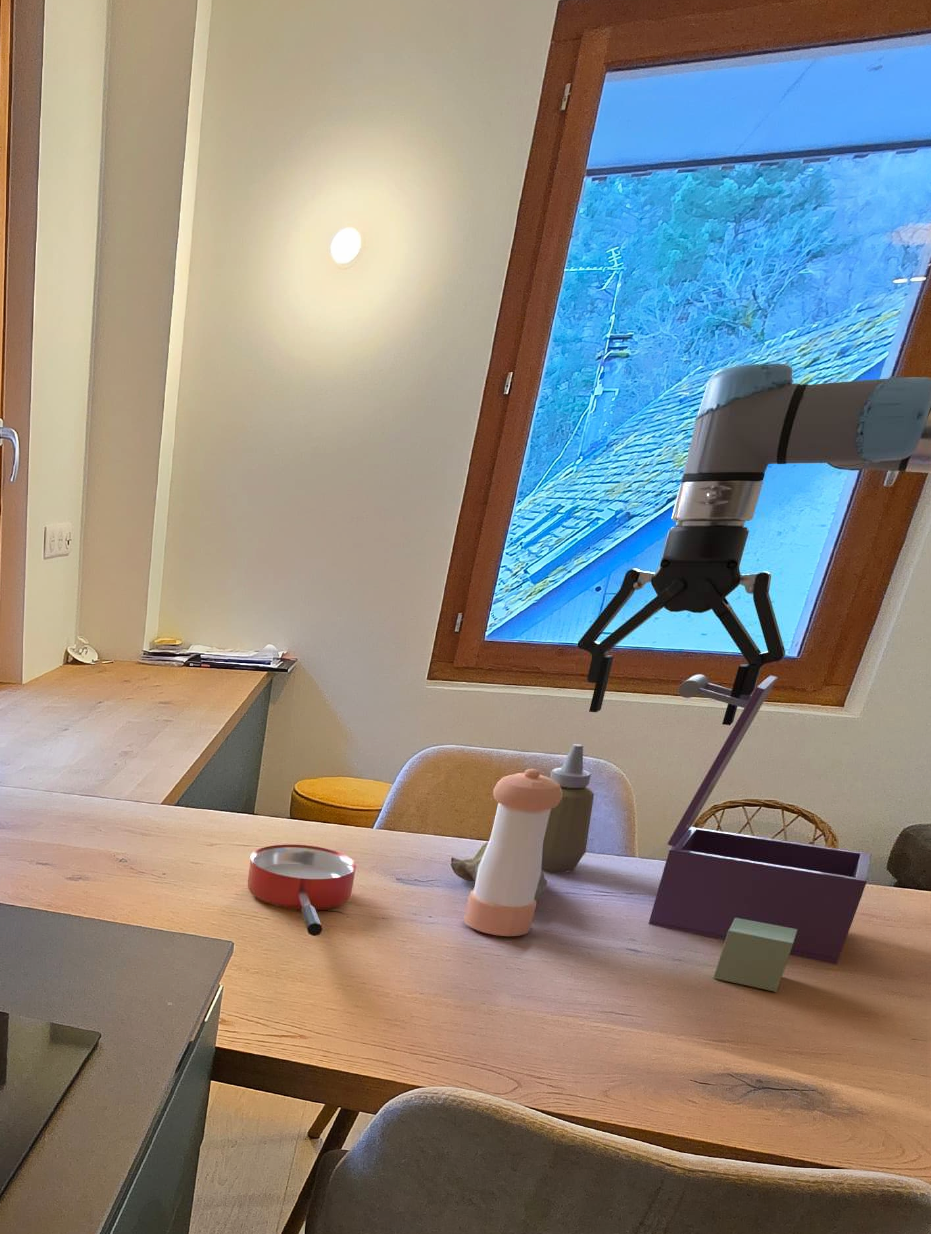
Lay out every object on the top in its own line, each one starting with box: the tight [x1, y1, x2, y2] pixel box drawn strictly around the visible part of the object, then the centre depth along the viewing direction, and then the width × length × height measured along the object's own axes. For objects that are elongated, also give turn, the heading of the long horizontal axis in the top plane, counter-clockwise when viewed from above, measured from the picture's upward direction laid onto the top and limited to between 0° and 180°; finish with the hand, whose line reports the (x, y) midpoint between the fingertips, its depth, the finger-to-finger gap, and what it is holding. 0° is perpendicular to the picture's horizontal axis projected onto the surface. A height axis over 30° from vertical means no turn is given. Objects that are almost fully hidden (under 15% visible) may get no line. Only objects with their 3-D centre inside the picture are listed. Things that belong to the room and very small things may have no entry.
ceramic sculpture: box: [450, 841, 548, 902], centre depth 135 cm, size 11×9×15 cm
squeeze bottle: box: [541, 743, 595, 874], centre depth 143 cm, size 8×8×18 cm
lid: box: [667, 674, 778, 847], centre depth 124 cm, size 19×14×8 cm
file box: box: [647, 826, 873, 966], centre depth 124 cm, size 18×14×10 cm
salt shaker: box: [463, 768, 562, 937], centre depth 123 cm, size 7×7×19 cm
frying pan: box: [247, 844, 357, 937], centre depth 128 cm, size 32×13×6 cm, turn 171°
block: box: [713, 918, 797, 993], centre depth 112 cm, size 6×6×6 cm
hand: (658, 717), depth 125 cm, fingers open, 13 cm apart
